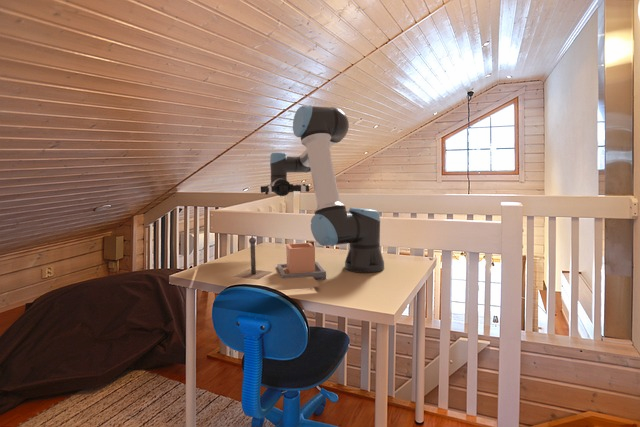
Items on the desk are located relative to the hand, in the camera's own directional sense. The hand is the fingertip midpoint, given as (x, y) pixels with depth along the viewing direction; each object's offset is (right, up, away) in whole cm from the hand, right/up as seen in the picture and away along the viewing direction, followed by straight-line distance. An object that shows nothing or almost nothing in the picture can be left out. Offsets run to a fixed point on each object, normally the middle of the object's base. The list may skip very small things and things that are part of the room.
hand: (287, 190), depth 157 cm
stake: (-11, -32, -16) cm, 38 cm away
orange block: (+6, -31, -12) cm, 34 cm away
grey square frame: (+6, -32, -12) cm, 34 cm away
